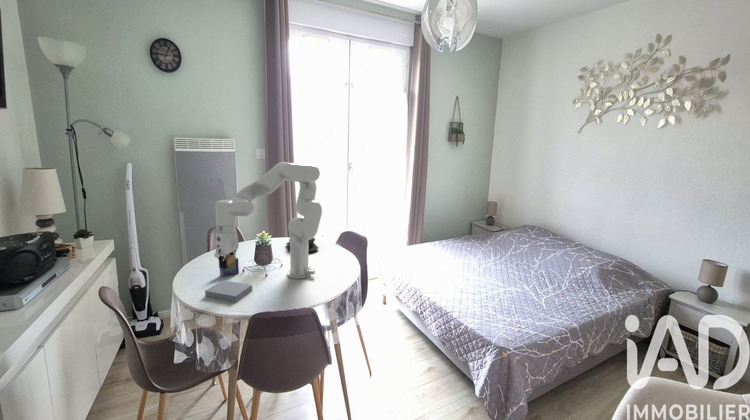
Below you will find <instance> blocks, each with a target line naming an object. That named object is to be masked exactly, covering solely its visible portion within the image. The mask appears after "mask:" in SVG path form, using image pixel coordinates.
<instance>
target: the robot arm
mask: <svg viewBox="0 0 750 420" xmlns="http://www.w3.org/2000/svg"><path fill="white" fill-rule="evenodd" d="M320 173H321V172H320V169H319V167H317V166H316V165H314V164H310V163H301V162H299V163H293V162H288V161H287V162H286V161H280V162H278V163H277V164H275V165H273V167H272V168H270V170H268V171H267V172H265V174H264V175H262V176H261V177H260V178H259V179H257V180H255V181H254V182H252V183H250V184H248V185H246V186H244V187H243V188H242V189H240V190H239V191H238V192H237V193H236V194H235V195H234V196H232V198H230V199H220V200H217V201H216V202H215V204H214V206H215V222H216V224H215V225H216V226H215V227H216V229H215V230H216V233H215V243H214V244H215V252H214V255H213V256H214V257H215V258H216V259H218V263H219V262H220V268H223V269H226V268H227V264H226V260H225V258H226V255H227V254H231V255H235V256H236V255H237V250H239V237H238V232H237V228H236V222H235V221H236V220H235V217H247V216H250V215H252V214H253V213H254V210H255V205H254V204H253V202H252V201H253V200H255V199H257V198H259V197H262V196H267V195H270V194H272V193H274V192H275V191H276V190H277V189H278V188H279V187H280V186H281V185H282V184H283V183H284V182H285V181H288V182H298V183H299V192H298V196H297V199H296V204H295V211H296V213H297V215H300V216H303V217H300V216H299V217H293V218H292V219H291V220H290V221H289V222H288V227H287V229H288V234H289V239H290V241H289V242H290V248H289V250H290V252H289V254H290V255H289V258H290V263H289V265H290V268H289V269H290V270H288V272H287V276H288V278H290V279H294V280H300V279H306V278H308V277H311V276H312V275H315V274H316V271H315V268H311V265H309V252H308V247H309V245H308V240H310V239H312V238H315V237H316V235H317V233H318V230H319V225H320V222H321V219H322V218H321V217H322V214H323V209H322V205H321V203H320V202H319V201H317V200H315V199H316V194H317V184H316V181H318V180H319V178H320V177H321V175H320ZM222 255H223V257H222ZM220 268H219V269H220Z"/></svg>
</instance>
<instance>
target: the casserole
mask: <svg viewBox="0 0 750 420" xmlns="http://www.w3.org/2000/svg"><path fill="white" fill-rule="evenodd" d="M315 241H316V238H315V237H314V238H312V239H310V240H308V245H309V247H308V253H309V252H314V251H316V250H318V249H319V247H318V246H317V244H316V243H315ZM285 244H286V246H287V247H288V249H290V238H289V239H288V242H286V243H285Z"/></svg>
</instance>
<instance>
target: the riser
mask: <svg viewBox="0 0 750 420" xmlns="http://www.w3.org/2000/svg"><path fill="white" fill-rule="evenodd" d="M251 292H253V284H248V283H242V282H236V281H230V280H226V279H223V280H221V281H219V282H216V284H215V285H212V286H211V287H208V288H207V289H206V290H204V294H205V296H204V297H205V298H209V299H215V300H220V301H225V300H226V301H225V302H231V303H232V302H233V303H237V302H239V301H240V300H242V299H243V298H244V297H246V296H247V295H248V294H250V293H251Z"/></svg>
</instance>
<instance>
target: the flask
mask: <svg viewBox="0 0 750 420" xmlns="http://www.w3.org/2000/svg"><path fill="white" fill-rule="evenodd" d="M239 274H240V266H239V258H238V257H236V266H234V267H232V268H230V269H223V268H219V276H220V277H222V278H223V277H224V278H225V277H230V276H237V275H239Z"/></svg>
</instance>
